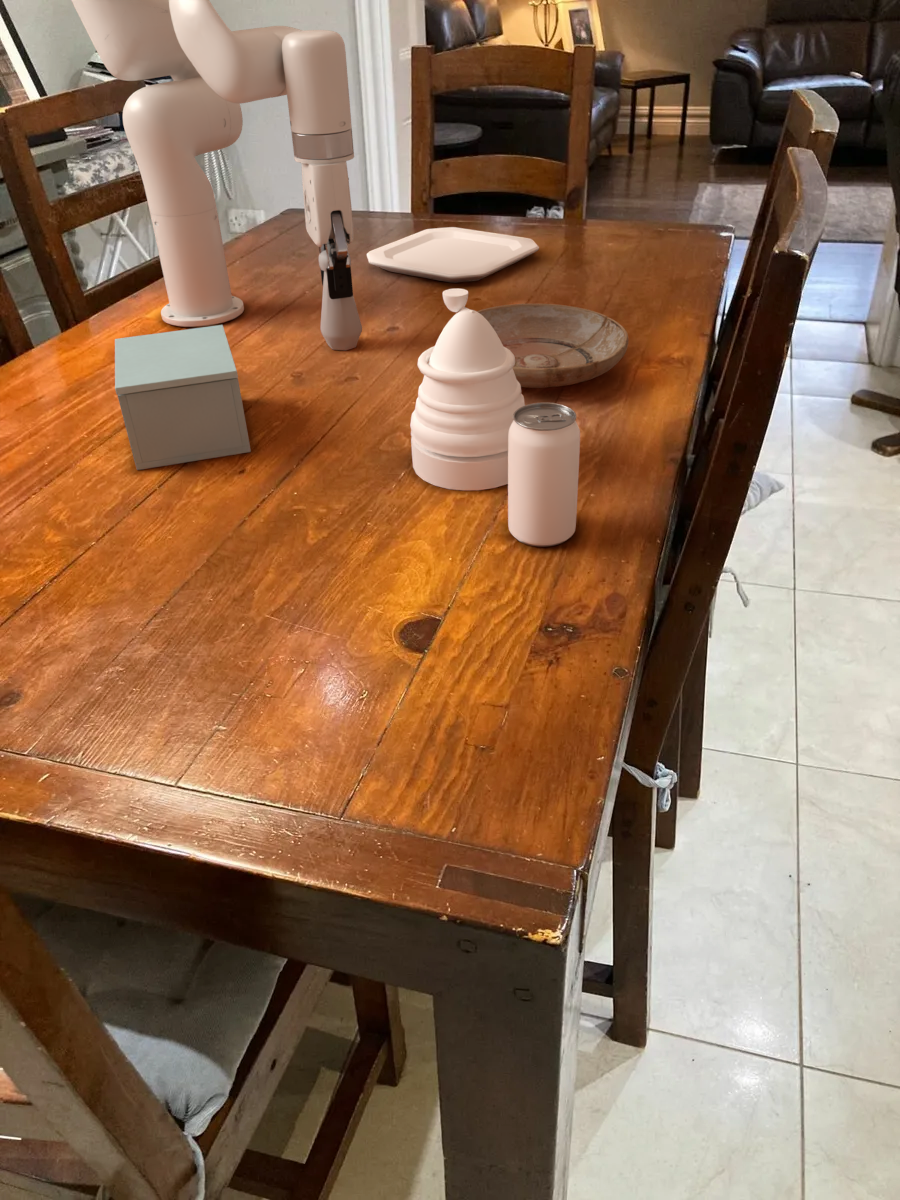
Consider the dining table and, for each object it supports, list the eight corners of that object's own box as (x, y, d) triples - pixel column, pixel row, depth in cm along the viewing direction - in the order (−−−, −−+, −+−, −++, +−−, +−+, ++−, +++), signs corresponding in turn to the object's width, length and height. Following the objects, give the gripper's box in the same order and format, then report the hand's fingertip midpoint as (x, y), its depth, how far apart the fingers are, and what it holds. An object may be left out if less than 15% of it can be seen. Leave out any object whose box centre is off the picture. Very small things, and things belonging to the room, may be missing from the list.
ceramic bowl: (464, 414, 112) (463, 375, 109) (436, 345, 131) (434, 310, 128) (650, 396, 114) (654, 356, 112) (596, 330, 133) (598, 295, 130)
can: (504, 516, 92) (503, 402, 85) (568, 511, 93) (573, 398, 86) (513, 551, 87) (513, 433, 80) (581, 546, 87) (588, 428, 80)
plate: (438, 236, 178) (437, 224, 176) (550, 253, 165) (550, 240, 164) (353, 270, 162) (352, 257, 160) (470, 292, 149) (470, 278, 148)
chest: (251, 452, 106) (237, 378, 101) (136, 470, 103) (117, 395, 98) (236, 399, 118) (224, 331, 113) (133, 414, 116) (116, 345, 110)
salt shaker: (356, 353, 129) (347, 258, 122) (317, 351, 130) (306, 256, 123) (368, 338, 134) (360, 245, 126) (329, 336, 135) (319, 244, 127)
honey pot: (390, 458, 103) (376, 296, 93) (481, 425, 109) (478, 269, 99) (459, 503, 95) (453, 329, 84) (554, 465, 101) (560, 298, 90)
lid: (238, 377, 100) (236, 370, 100) (116, 395, 97) (114, 388, 97) (223, 331, 113) (222, 324, 113) (116, 345, 110) (114, 338, 110)
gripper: (283, 137, 123) (300, 277, 134) (304, 161, 110) (321, 315, 120) (339, 132, 124) (351, 271, 135) (367, 155, 111) (378, 307, 122)
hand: (337, 290), depth 128 cm, fingers closed on salt shaker, 4 cm apart
